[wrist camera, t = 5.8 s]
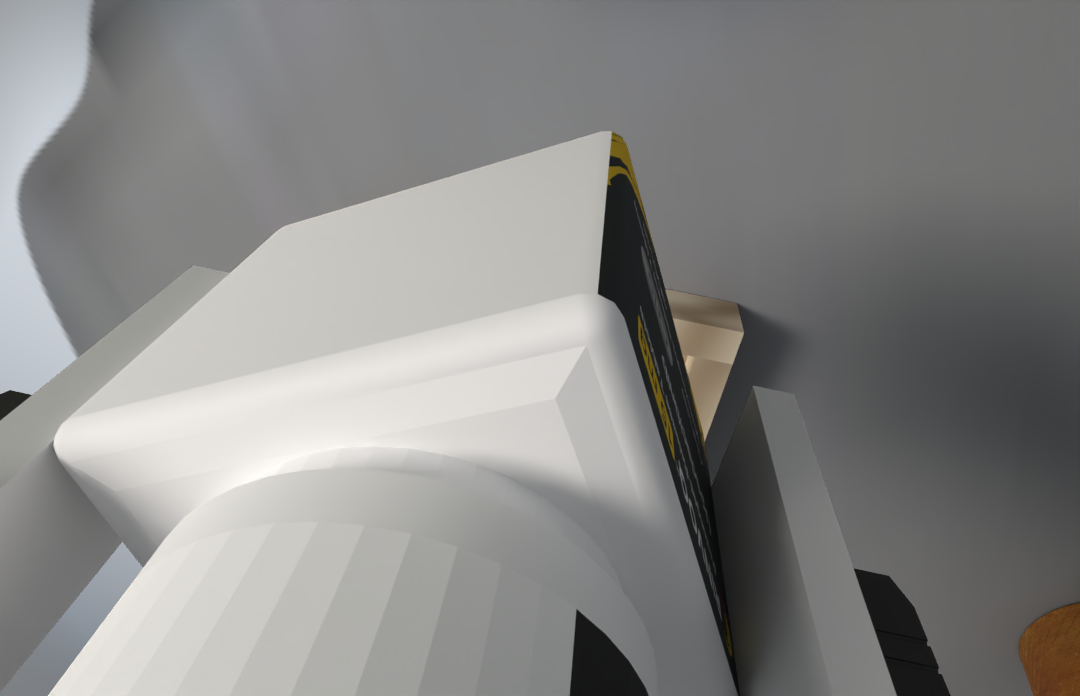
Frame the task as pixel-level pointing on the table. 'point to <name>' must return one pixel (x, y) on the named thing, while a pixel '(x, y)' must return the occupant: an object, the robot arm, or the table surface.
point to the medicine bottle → (417, 459)
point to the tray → (706, 346)
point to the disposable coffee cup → (1053, 653)
